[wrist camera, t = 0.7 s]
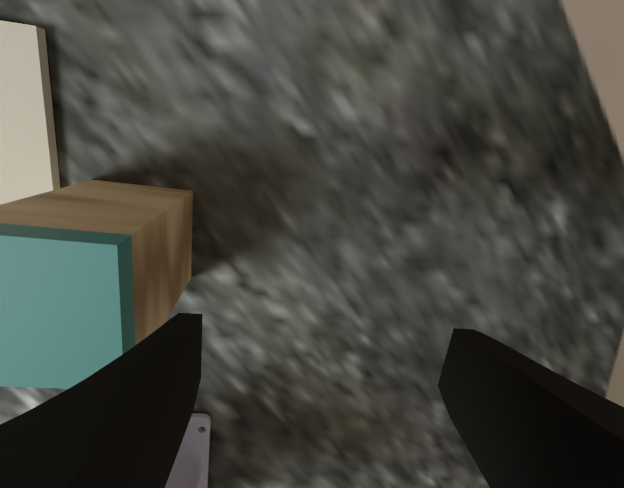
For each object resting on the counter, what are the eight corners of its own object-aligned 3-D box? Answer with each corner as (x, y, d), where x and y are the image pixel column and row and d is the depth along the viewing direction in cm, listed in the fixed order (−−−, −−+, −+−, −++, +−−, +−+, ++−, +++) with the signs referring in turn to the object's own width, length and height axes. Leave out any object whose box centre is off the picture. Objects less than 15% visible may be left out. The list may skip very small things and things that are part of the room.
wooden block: (191, 277, 20) (124, 390, 11) (97, 269, 19) (-49, 384, 10) (193, 190, 18) (116, 245, 10) (91, 179, 17) (-86, 227, 9)
